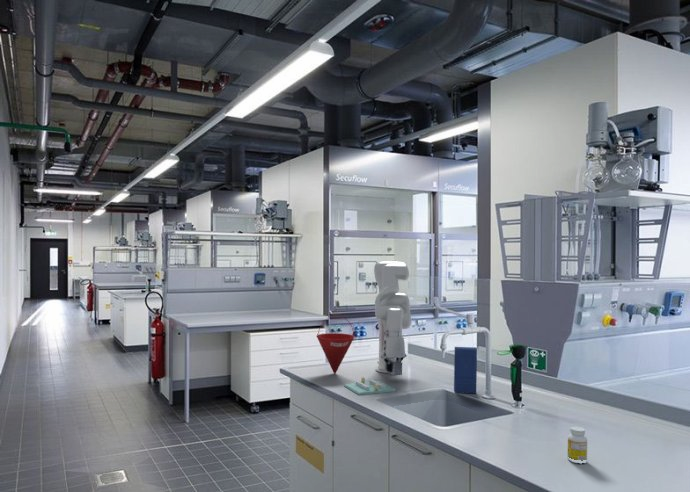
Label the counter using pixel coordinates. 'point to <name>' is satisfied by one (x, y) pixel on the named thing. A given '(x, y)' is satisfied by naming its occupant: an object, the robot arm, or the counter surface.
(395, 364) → the block
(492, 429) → the counter surface
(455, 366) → the electronic device
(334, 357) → the fire bucket
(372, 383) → the docking tray
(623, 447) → the counter surface
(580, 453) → the supplement bottle
